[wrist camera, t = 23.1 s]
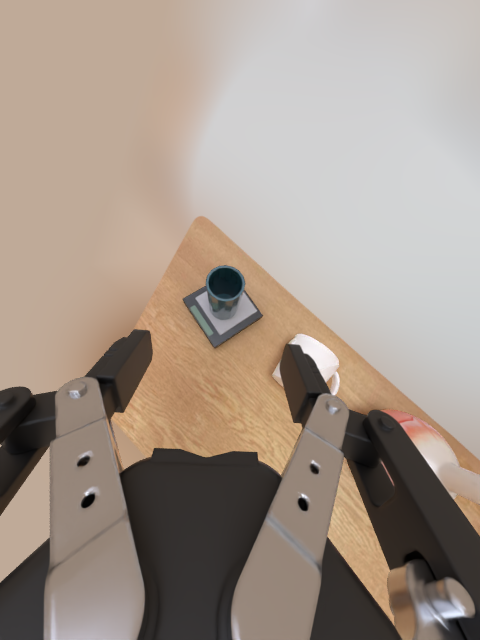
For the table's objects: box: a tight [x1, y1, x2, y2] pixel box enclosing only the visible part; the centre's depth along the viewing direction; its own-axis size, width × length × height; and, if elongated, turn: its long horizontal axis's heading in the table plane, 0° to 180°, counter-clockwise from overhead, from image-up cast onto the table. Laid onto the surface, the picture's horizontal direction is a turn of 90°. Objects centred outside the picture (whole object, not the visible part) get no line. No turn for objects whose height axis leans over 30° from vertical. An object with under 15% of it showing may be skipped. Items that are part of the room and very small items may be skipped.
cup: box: [206, 265, 245, 320], centre depth 34 cm, size 6×6×11 cm
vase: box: [380, 409, 480, 505], centre depth 30 cm, size 14×14×18 cm
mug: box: [272, 334, 340, 396], centre depth 37 cm, size 12×9×8 cm
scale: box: [183, 286, 263, 348], centre depth 41 cm, size 12×12×3 cm
